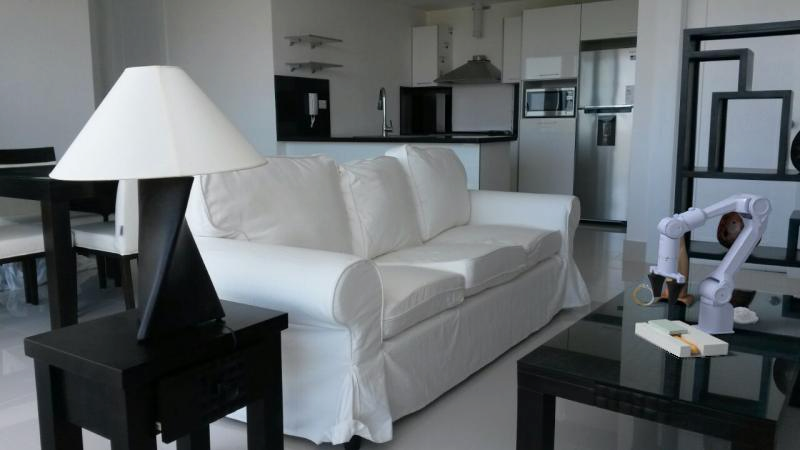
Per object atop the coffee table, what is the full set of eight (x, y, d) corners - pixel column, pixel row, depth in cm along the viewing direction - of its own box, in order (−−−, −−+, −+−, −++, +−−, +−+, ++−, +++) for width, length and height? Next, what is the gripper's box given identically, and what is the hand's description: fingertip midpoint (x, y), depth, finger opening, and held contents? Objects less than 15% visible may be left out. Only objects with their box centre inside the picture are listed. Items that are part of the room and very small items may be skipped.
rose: (763, 308, 210) (754, 313, 203) (762, 321, 211) (752, 327, 204) (731, 301, 217) (720, 307, 210) (730, 314, 218) (719, 320, 211)
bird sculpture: (694, 300, 233) (702, 213, 228) (689, 308, 223) (698, 217, 218) (661, 296, 239) (669, 211, 234) (655, 303, 229) (663, 214, 224)
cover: (665, 322, 194) (666, 319, 193) (687, 332, 184) (687, 329, 184) (648, 323, 192) (648, 320, 192) (669, 334, 183) (669, 331, 182)
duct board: (678, 331, 197) (679, 320, 196) (727, 355, 177) (728, 343, 176) (634, 334, 194) (635, 323, 193) (679, 358, 173) (680, 346, 173)
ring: (631, 305, 225) (633, 283, 224) (633, 303, 228) (635, 281, 227) (652, 308, 221) (654, 286, 220) (654, 306, 224) (656, 284, 223)
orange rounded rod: (664, 334, 186) (666, 342, 186) (691, 348, 174) (693, 356, 175) (671, 331, 186) (673, 338, 187) (699, 345, 175) (701, 353, 175)
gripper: (642, 252, 201) (639, 294, 203) (671, 262, 187) (667, 307, 189) (662, 252, 202) (658, 293, 205) (692, 261, 188) (688, 306, 191)
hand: (664, 300), depth 197 cm, fingers open, 7 cm apart
